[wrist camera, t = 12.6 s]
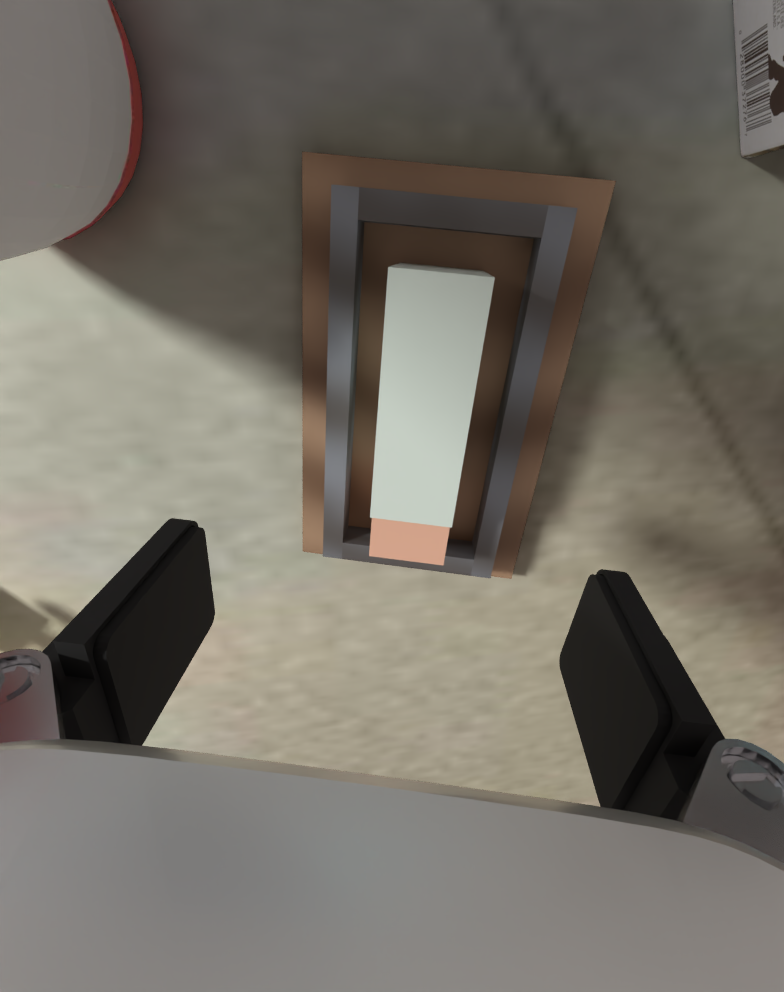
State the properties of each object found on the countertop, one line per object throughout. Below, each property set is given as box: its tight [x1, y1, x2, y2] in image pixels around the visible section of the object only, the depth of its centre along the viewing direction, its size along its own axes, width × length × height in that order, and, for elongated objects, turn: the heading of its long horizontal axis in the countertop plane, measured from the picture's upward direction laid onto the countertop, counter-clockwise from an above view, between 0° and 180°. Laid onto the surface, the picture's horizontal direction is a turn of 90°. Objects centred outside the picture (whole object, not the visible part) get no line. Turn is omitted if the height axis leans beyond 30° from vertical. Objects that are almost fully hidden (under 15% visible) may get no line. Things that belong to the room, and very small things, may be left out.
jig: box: [302, 152, 616, 579], centre depth 26 cm, size 22×14×3 cm, turn 175°
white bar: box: [369, 263, 495, 565], centre depth 23 cm, size 14×4×6 cm, turn 175°
